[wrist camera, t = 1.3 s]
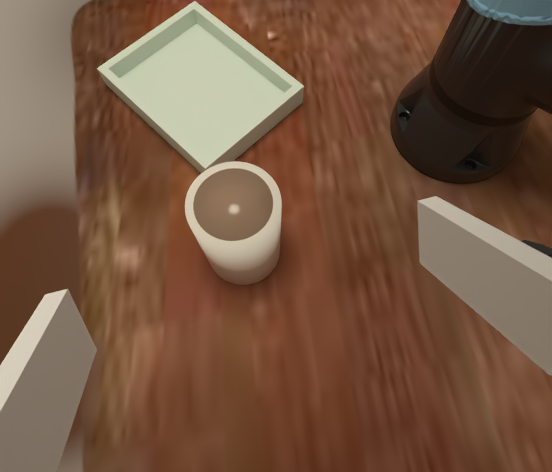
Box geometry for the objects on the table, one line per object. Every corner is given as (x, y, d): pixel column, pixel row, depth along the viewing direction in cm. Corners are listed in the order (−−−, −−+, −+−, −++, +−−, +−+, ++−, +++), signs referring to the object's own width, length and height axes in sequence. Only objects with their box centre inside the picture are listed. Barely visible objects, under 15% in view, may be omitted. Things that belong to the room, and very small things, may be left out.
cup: (245, 203, 46) (235, 144, 35) (295, 249, 44) (301, 202, 33) (192, 249, 44) (164, 203, 33) (242, 300, 42) (231, 269, 31)
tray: (198, 20, 56) (194, 0, 53) (302, 102, 51) (304, 86, 49) (106, 85, 52) (96, 68, 49) (209, 181, 47) (205, 168, 45)
